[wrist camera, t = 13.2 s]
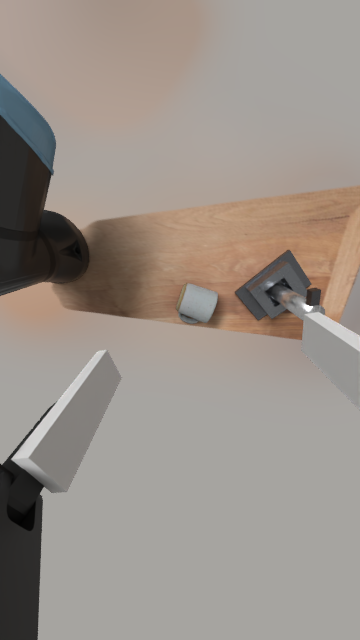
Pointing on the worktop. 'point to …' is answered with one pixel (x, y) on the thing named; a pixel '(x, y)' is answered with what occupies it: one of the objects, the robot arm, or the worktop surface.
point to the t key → (297, 300)
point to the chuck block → (278, 271)
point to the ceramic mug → (196, 303)
